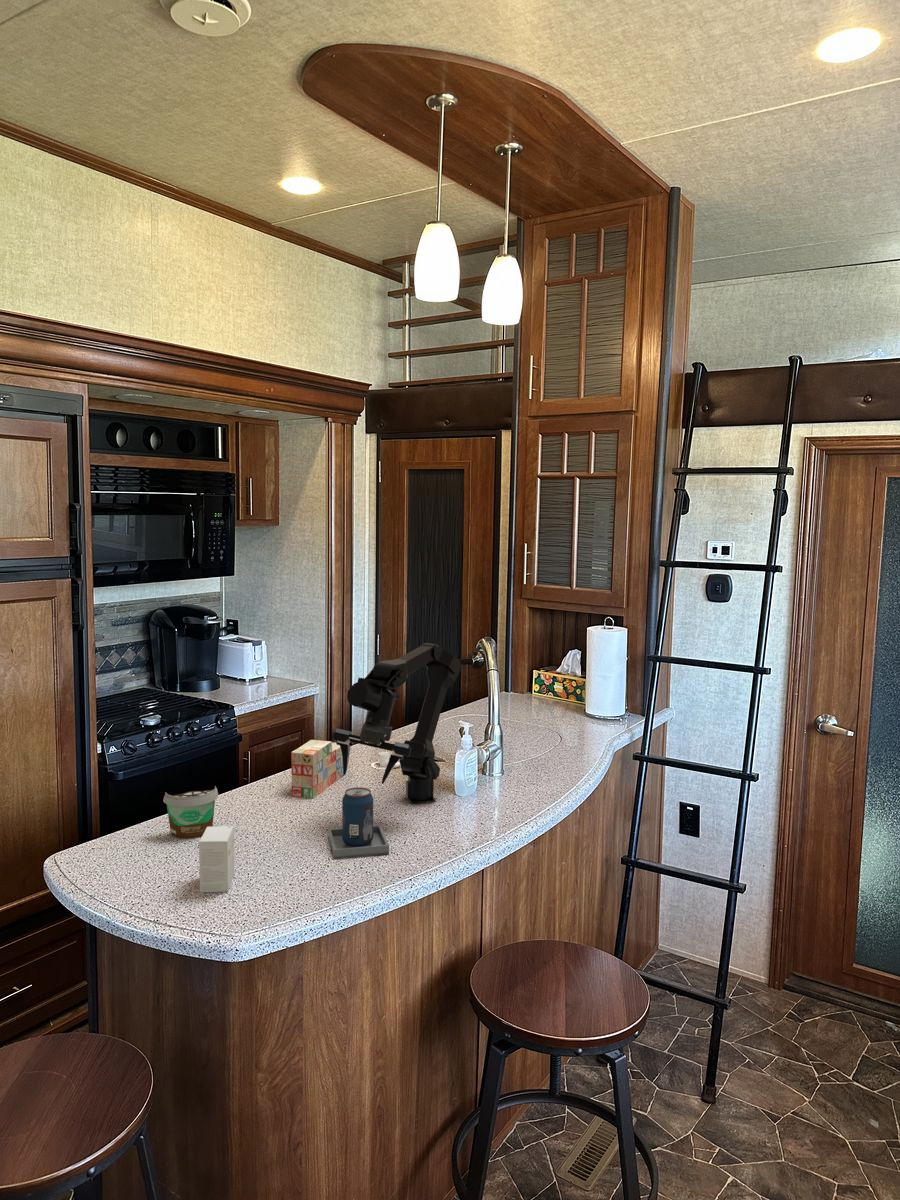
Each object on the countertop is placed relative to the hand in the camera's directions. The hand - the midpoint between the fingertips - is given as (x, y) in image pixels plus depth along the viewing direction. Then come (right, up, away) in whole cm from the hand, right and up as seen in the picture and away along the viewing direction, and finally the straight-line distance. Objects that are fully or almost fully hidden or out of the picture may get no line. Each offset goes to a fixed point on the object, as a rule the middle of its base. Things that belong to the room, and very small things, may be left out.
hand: (363, 779), depth 196 cm
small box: (-26, -15, -29) cm, 42 cm away
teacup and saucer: (+1, -8, +47) cm, 47 cm away
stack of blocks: (-15, -9, +31) cm, 36 cm away
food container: (-39, -12, -5) cm, 41 cm away
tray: (0, -13, -10) cm, 16 cm away
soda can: (0, -13, -9) cm, 16 cm away
